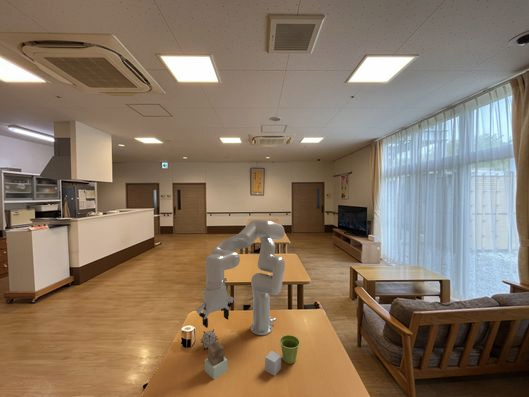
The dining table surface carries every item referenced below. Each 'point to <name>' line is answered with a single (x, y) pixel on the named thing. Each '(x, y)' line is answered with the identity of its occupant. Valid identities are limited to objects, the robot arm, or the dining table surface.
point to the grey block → (273, 363)
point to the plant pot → (289, 348)
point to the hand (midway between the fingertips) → (216, 322)
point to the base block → (216, 368)
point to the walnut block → (215, 353)
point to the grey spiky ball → (208, 338)
